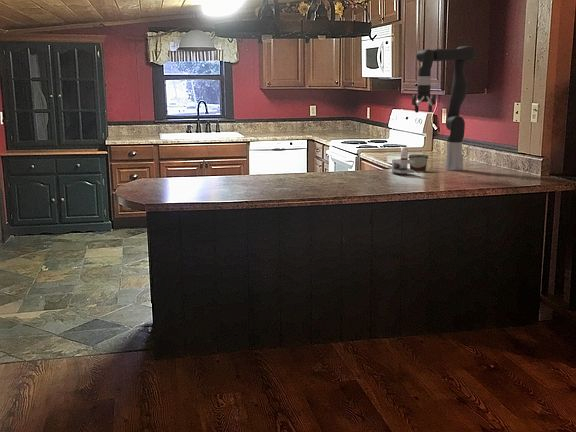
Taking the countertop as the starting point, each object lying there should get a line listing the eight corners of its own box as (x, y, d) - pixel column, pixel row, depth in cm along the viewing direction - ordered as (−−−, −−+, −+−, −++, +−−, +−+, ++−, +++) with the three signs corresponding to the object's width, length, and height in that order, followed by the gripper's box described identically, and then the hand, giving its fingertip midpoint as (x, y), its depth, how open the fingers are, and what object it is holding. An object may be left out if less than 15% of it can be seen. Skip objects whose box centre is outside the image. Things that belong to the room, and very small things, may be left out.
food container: (427, 170, 404) (427, 154, 402) (428, 171, 398) (428, 155, 396) (407, 170, 405) (407, 154, 403) (407, 171, 399) (408, 155, 397)
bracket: (403, 172, 392) (404, 158, 391) (414, 175, 380) (414, 160, 378) (390, 173, 389) (390, 159, 388) (400, 176, 377) (400, 161, 376)
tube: (405, 174, 385) (405, 147, 382) (408, 175, 382) (409, 147, 379) (398, 174, 384) (399, 147, 381) (402, 175, 380) (402, 148, 377)
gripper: (431, 84, 386) (430, 111, 390) (410, 84, 382) (409, 112, 385) (438, 84, 379) (437, 112, 383) (416, 84, 375) (415, 112, 378)
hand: (423, 112), depth 384 cm, fingers open, 8 cm apart
